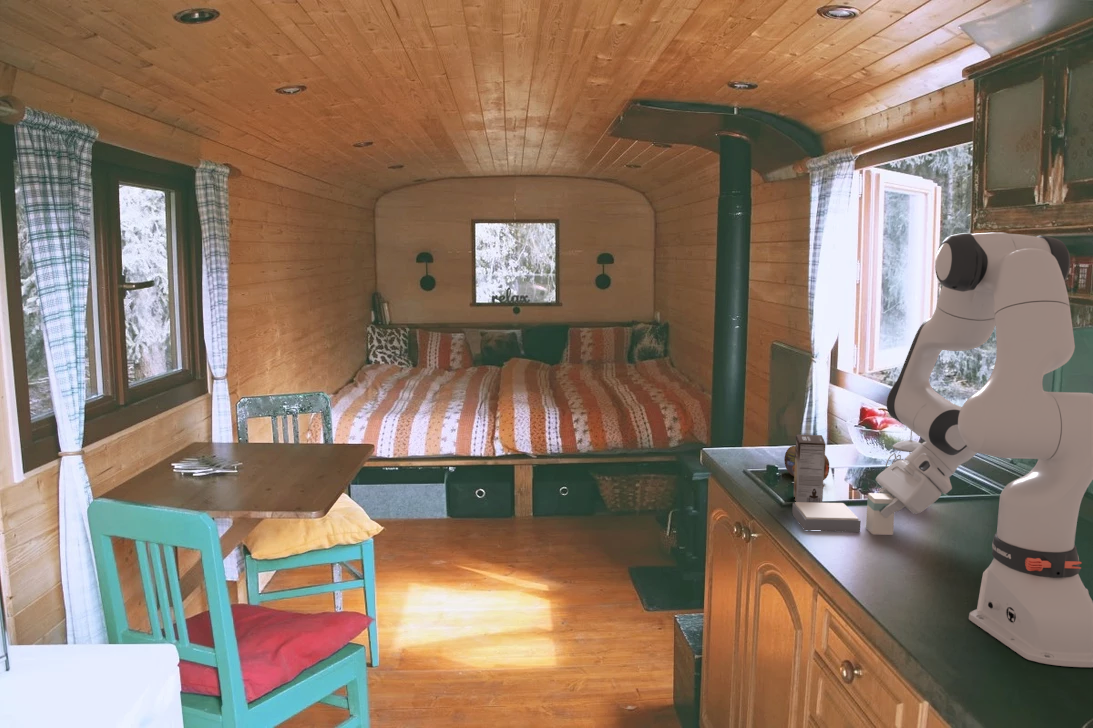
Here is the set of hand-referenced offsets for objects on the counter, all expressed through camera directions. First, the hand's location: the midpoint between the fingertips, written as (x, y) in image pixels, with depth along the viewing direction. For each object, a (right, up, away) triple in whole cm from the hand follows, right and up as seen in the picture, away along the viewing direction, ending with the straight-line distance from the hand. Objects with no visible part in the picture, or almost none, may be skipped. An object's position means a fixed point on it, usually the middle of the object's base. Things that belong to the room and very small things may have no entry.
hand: (877, 510), depth 183 cm
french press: (+16, -2, +23) cm, 27 cm away
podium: (-10, -4, +6) cm, 12 cm away
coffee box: (-9, -2, +22) cm, 24 cm away
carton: (+1, -5, +1) cm, 5 cm away
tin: (-2, +1, +43) cm, 44 cm away
